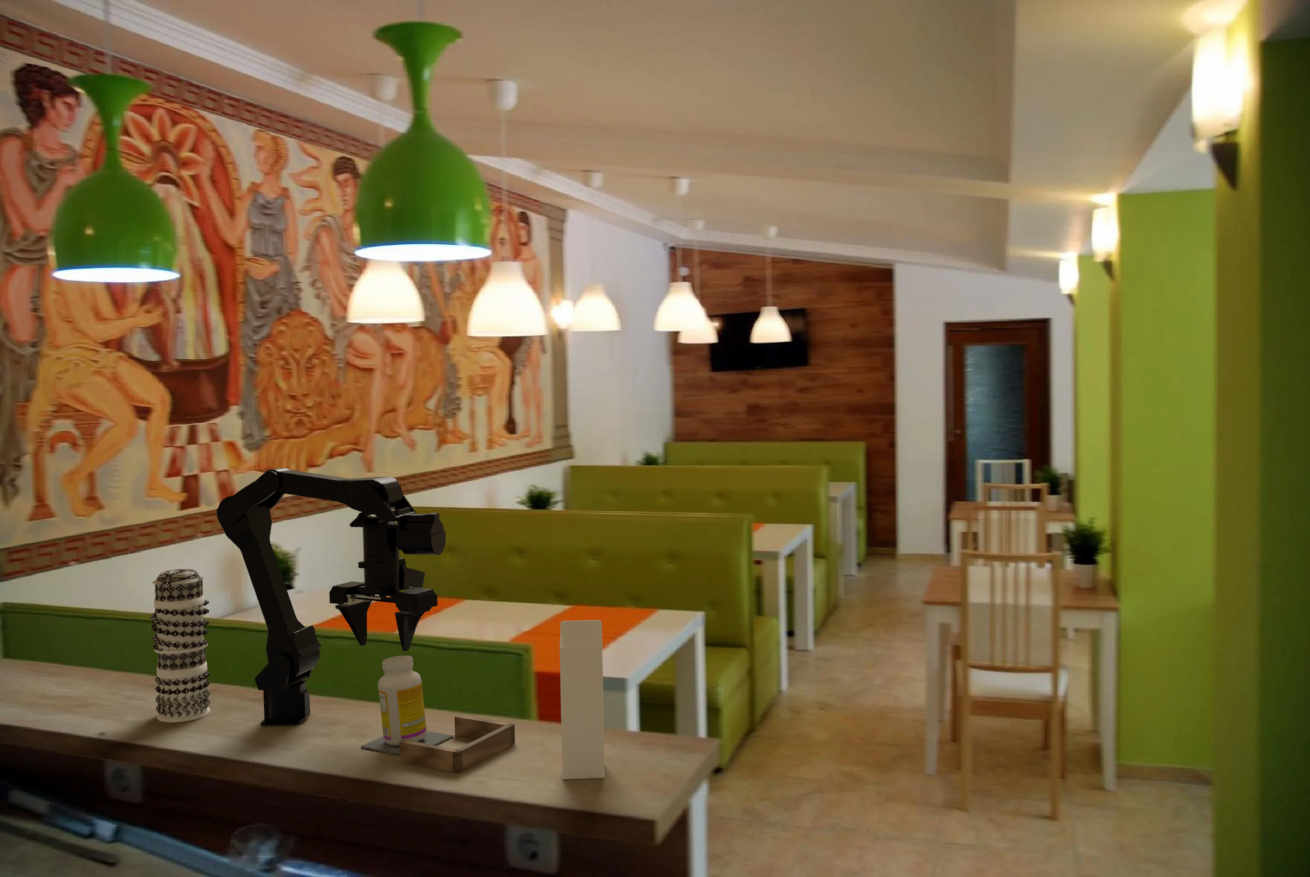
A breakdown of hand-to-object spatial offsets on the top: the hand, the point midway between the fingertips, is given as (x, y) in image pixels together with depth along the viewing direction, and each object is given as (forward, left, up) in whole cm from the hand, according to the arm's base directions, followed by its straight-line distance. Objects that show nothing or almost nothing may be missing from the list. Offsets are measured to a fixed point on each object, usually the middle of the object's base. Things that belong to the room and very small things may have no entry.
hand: (384, 648), depth 172 cm
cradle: (+14, -13, -13) cm, 23 cm away
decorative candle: (-37, +8, -13) cm, 40 cm away
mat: (+5, -8, -13) cm, 16 cm away
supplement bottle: (+5, -8, -13) cm, 16 cm away
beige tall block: (+34, -22, -13) cm, 43 cm away
